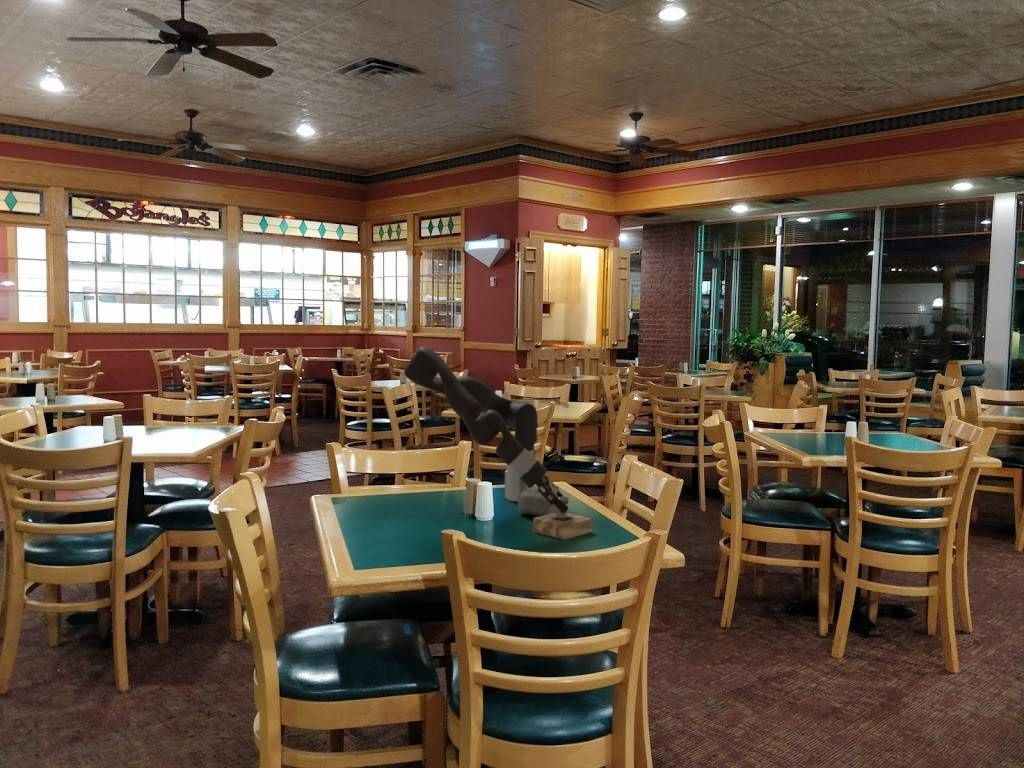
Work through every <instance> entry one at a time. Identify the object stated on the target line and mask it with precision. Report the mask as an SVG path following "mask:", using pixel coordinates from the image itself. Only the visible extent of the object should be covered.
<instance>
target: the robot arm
mask: <svg viewBox="0 0 1024 768" xmlns="http://www.w3.org/2000/svg"><path fill="white" fill-rule="evenodd" d="M403 372H404V373H403V374H404V376H405V377H406V378H407V379H408V380H409V381H410V382H412V383H414V384H416V385H418V386H420V387H422V388H425V389H428V390H431V391H433V392H436V393H439V394H442V395H443V396H445V399H446V402H447V404H448V406H449V407H450V408H451V410H452V411H453V412H454V413H456V415H458V417H459V418H460V419H461V420H462V421H463V422H464V424H465V426H466V427H467V430H468V432H469V434H470V436H471V438H472V439H473V441H474V442H475V443H476V444H478V445H480V446H487V445H489V444H490V443H491V442H492V441H493V440H494V439H495V438H496V437H497V436H498V435H499V433H500V434H501V436H502V437H501V439H500V442H499V444H498V445H497V447H496V448H495V454H496V455H497V456H498V457H499V458H500V460H502V461H503V462H504V463H505V464H506V470H505V471H504V498H505V499H506V500H508V501H510V502H517V503H518V499H519V496H520V494H521V493H522V492H523V491H524V490H535V486H536V487H537V490H538V492H540V493H541V494H542V495H543V496H544V497H545V498H546V499H547V501H548V502H549V503H550V504H551V505H554V504H555V506H556V507H557V508H558V509H559V510H560V511H561V512H562V513H565V512H566V511H567V512H568V511H569V507H568V504H569V501H568V502H567V506H566V505H565V504H564V503H563V502H562V501H561V500H560V498H559V497H558V496H564V495H563V493H562V492H561V490H560V488H559V486H557V485H556V484H555V483H554V482H553V481H552V480H551V479H550V478H549V477H548V475H546V474H547V472H548V469H547V468H546V467H545V466H544V464H542V463H541V461H539V460H538V458H536V457H535V444H536V442H537V435H538V412H537V409H536V407H535V406H534V405H533V404H531V403H529V402H521V401H514V400H510V399H507V398H505V397H502V396H500V395H498V394H497V393H496V392H495V391H494V390H493V389H492V388H491V386H489V385H488V384H486V383H484V382H483V381H480V380H479V379H477V378H475V377H472V376H457V377H456V375H455V374H454V372H453V371H452V369H451V368H450V367H449V366H448V364H447V363H446V361H445V360H444V359H443V357H441V356H440V355H439V354H438V353H437V352H436V351H434V350H433V349H431V348H429V347H427V346H420V347H419V348H418V349H417V350H416V352H415V353H414V354H413V356H412V357H411V359H410V360H409V362H408V363H407V365H406V366H405V369H404V371H403ZM437 375H439V377H440V378H439V377H437ZM481 413H482V415H481ZM480 415H481V416H480ZM509 428H511V429H514V434H513V433H512V432H511V430H510V429H509ZM552 497H554V498H553V499H551V498H552Z"/></svg>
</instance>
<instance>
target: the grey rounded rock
mask: <svg viewBox="0 0 1024 768" xmlns="http://www.w3.org/2000/svg"><path fill="white" fill-rule="evenodd" d="M553 498H554V497H552V498H551V499H553ZM517 509H518V511H519V513H521V514H522V515H527V516H534V517H541V516H544V515H548V514H552V513H555V504H554V505H551V504H550V503H549V502H548V501H547V499H546V498H545V497H544V496H543V495H542V494H541V493H540V492H538V489H534V490H524V491H523V492H522V493H521V494H520V496H519V499H518V502H517Z"/></svg>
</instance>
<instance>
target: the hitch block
mask: <svg viewBox="0 0 1024 768" xmlns="http://www.w3.org/2000/svg"><path fill="white" fill-rule="evenodd" d="M532 519H533V521H532V523H533V524H532V525H533V527H532V532H533V533H537V534H540V535H543V536H544V535H545V536H547V537H552V538H556V539H560V540H564V541H565V540H569V539H572V538H575V537H578V536H582V535H586V534H588V533H592V532H593V531H592V528H593V527H592V525H593V523H592V521H593V519H592V517H587V516H584V515H583V516H582V515H578V514H573V513H570V512H567V521H564V522H563V521H559V520H555V513H552V514H548V515H544V516H541V517H538V516H536V517H534V518H532Z"/></svg>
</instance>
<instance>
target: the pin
mask: <svg viewBox="0 0 1024 768" xmlns="http://www.w3.org/2000/svg"><path fill="white" fill-rule="evenodd" d="M558 497H559V498H560V500H561V501H562V502H563V503H564V504H565V505H566V506H567V507H568V504H567V502H568V503H569V497H568V496H564V495H563V496H558ZM567 513H568V510H567V511H566V512H565V513H562V512H561V511H560V510H559V509H558V508H557V507H556V506H555V520H559V521H563V522H564V521H567Z"/></svg>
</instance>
